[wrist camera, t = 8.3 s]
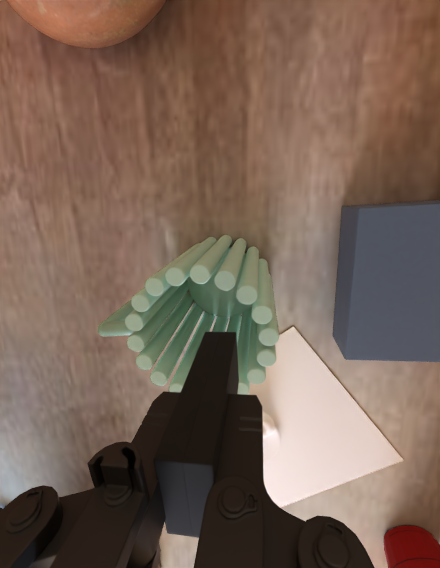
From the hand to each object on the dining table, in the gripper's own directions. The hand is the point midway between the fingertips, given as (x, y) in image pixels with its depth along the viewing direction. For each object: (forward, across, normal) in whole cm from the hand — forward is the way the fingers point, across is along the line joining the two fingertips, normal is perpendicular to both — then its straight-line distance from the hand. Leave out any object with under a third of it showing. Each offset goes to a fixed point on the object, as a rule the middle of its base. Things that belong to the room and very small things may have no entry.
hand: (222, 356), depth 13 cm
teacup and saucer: (+13, -3, +19) cm, 23 cm away
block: (+13, -13, 0) cm, 18 cm away
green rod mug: (+11, -4, 0) cm, 12 cm away
